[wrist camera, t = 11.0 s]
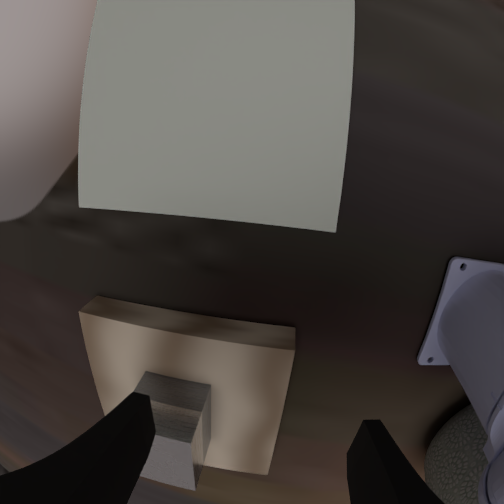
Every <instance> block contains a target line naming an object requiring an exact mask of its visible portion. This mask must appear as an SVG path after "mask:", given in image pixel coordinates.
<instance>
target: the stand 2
mask: <svg viewBox="0 0 504 504" xmlns="http://www.w3.org/2000/svg"><path fill="white" fill-rule="evenodd" d="M79 316H80V321H81V326H82V331H83V336H84V340H85V345H86V349H87V354H88V358H89V362H90V366H91V370H92V373H93V377H94V381H95V384H96V388H97V391H98V395H99V398H100V401H101V405H102V408H103V411H104V414H105V416H106V415H107V414H108V413H109V412H110V411H112V410H113V409H114V408H115V407H116V406H117V405H118V404H119V403H121V402H122V401H123V400H124V399H125V398H126V397H127V396H128V395H129V394H130V393H132V392H133V391H134V389H135V388H136V386H137V384H138V383H139V381H140V380H141V378H142V376H143V375H144V373H145V371H148V372H153V373H157V374H161V375H165V376H170V377H174V378H179V379H184V380H189V381H194V382H199V383H204V384H209V385H211V440H210V444H209V447H208V451H207V454H206V457H205V461H204V464H203V465H206V466H211V467H217V468H222V469H228V470H234V471H241V472H248V473H256V474H264V475H267V474H268V470H269V466H270V462H271V458H272V454H273V450H274V446H275V442H276V438H277V434H278V429H279V425H280V421H281V416H282V412H283V407H284V403H285V398H286V393H287V389H288V384H289V379H290V374H291V369H292V364H293V359H294V354H295V327H286V326H278V325H269V324H261V323H254V322H246V321H239V320H232V319H225V318H218V317H212V316H205V315H199V314H193V313H187V312H181V311H175V310H169V309H163V308H158V307H152V306H147V305H142V304H136V303H131V302H126V301H121V300H116V299H112V298H107V297H102V296H96V297H95V298H94V299H92V300H91V301H90V302H89V303H88V304H87V305H85V306H84V307H83V308H82V309H81V310H80V311H79Z"/></svg>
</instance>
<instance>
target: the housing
mask: <svg viewBox="0 0 504 504" xmlns="http://www.w3.org/2000/svg"><path fill="white" fill-rule="evenodd" d="M133 392H137V393H141V394H145V395H149V396H150V401H151V407H152V413H153V418H154V423H155V428H156V434H155V437H154V441H153V444H152V447H151V450H150V453H149V456H148V458H147V461H146V463H145V465H144V467H143V470H142V472H141V474H140V476H142V477H145V478H149V479H152V480H155V481H159V482H162V483H166V484H170V485H174V486H177V487H182V488H186V489H190V490H194V491H196V488H197V484H198V481H199V478H200V474H201V471H202V468H203V464H204V461H205V457H206V454H207V451H208V447H209V444H210V440H211V385H209V384H204V383H199V382H194V381H189V380H184V379H179V378H174V377H170V376H165V375H161V374H157V373H153V372H148V371H145V373H144V375H143V376H142V378H141V380H140V381H139V383H138V384H137V386H136V388H135V389H134V391H133Z"/></svg>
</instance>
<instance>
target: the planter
mask: <svg viewBox="0 0 504 504" xmlns="http://www.w3.org/2000/svg"><path fill="white" fill-rule="evenodd" d="M487 440H488V435H487V434H486V432H485V430H484V428H483V426H482V424H481V422H480V420H479V418H478V416H477V414H476V412H475V410H474V408H473V406H472V404H470V405H468V406H466V407H465V408H463V409H462V410H460V411H459V412H458V413H456V414H455V415H454V416H453V417H451V418H450V419H449V420H448V421H447V422H446V423H445V424H444V425H443V426H442V428H441V429H440V430H439V431H438V432H437V434H436V435H435V437H434V438H433V440H432V441H431V443H430V445H429V447H428V449H427V452H426V456H425V462H424V471H425V483H426V484H427V485H428V487H429V488H430V489H431V490H432V491H433V492H434V493H435V494H436V495H437V496H438V497H439V498H440V499H441V500H442V501H443V502H444V503H445V504H479V500H478V485H479V481H480V477H481V475H482V473H483V470H484V469H485V467H486V466H487V464H488V463H489V462H488V460H487V458H486V455H485V453H484V451H483V447H484V446H485V444H486V442H487Z"/></svg>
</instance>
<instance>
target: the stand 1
mask: <svg viewBox="0 0 504 504" xmlns="http://www.w3.org/2000/svg"><path fill="white" fill-rule="evenodd" d="M354 21H355V0H98V1H97V5H96V9H95V14H94V19H93V24H92V29H91V34H90V39H89V46H88V51H87V58H86V65H85V72H84V81H83V89H82V99H81V100H82V101H81V111H80V127H79V152H78V191H79V207H84V208H98V209H111V210H123V211H136V212H147V213H159V214H170V215H181V216H191V217H202V218H212V219H222V220H231V221H241V222H250V223H259V224H268V225H277V226H286V227H294V228H303V229H311V230H319V231H327V232H336V226H337V219H338V212H339V205H340V198H341V191H342V183H343V175H344V166H345V157H346V148H347V138H348V128H349V117H350V104H351V91H352V75H353V54H354Z"/></svg>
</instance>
